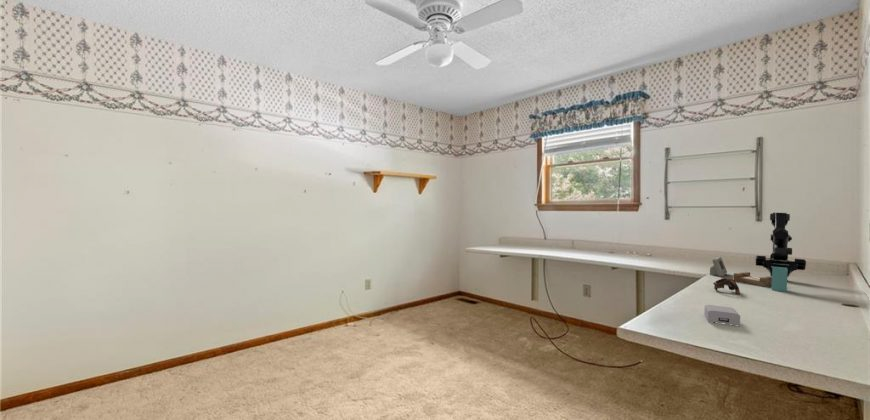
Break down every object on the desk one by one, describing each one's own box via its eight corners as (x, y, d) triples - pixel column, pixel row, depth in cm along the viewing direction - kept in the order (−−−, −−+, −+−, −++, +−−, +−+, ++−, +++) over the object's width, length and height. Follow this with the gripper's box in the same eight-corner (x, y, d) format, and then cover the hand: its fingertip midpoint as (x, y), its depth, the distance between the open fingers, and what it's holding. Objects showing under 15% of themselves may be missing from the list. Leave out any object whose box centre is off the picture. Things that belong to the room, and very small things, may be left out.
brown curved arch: (738, 297, 172) (728, 281, 174) (717, 301, 180) (707, 286, 181) (746, 287, 179) (736, 272, 181) (726, 292, 186) (716, 277, 188)
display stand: (745, 279, 210) (746, 271, 210) (776, 284, 197) (776, 276, 197) (733, 281, 205) (733, 273, 205) (764, 286, 192) (764, 278, 192)
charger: (731, 315, 143) (739, 327, 130) (702, 312, 147) (707, 322, 134) (731, 303, 142) (740, 314, 129) (702, 300, 147) (708, 309, 134)
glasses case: (771, 288, 189) (772, 266, 189) (786, 290, 185) (787, 267, 185) (771, 290, 185) (772, 267, 185) (786, 292, 181) (787, 269, 181)
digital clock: (722, 277, 215) (722, 259, 215) (704, 274, 223) (704, 257, 222) (733, 274, 224) (733, 257, 224) (715, 272, 231) (716, 255, 231)
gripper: (756, 240, 194) (755, 263, 186) (806, 243, 181) (807, 268, 173) (756, 253, 200) (755, 276, 192) (804, 257, 187) (805, 282, 179)
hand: (779, 275), depth 184 cm, fingers closed on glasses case, 5 cm apart
